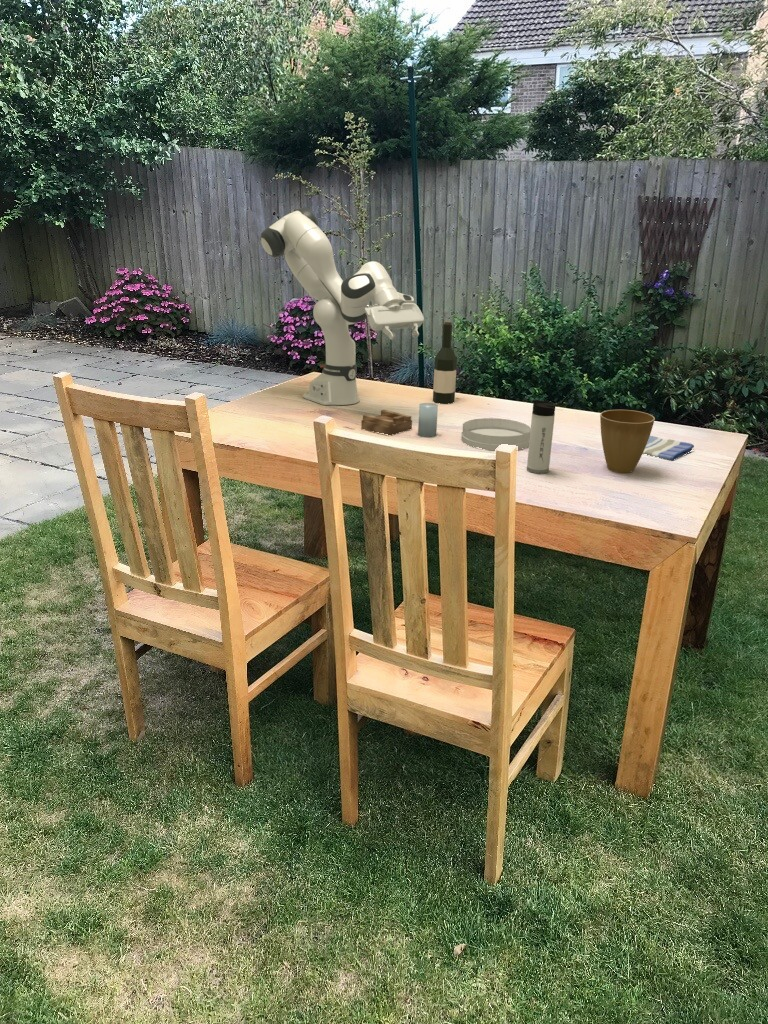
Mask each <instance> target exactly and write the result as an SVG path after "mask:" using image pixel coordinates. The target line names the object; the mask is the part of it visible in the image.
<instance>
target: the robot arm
mask: <svg viewBox="0 0 768 1024" xmlns="http://www.w3.org/2000/svg"><path fill="white" fill-rule="evenodd" d="M260 242H261V243H260V244H261V246H262V249H263V250H264V251H265V252H266V253H267V255H269V256H270V257H272V258H279V257H280V258H281V257H282V256H284V259H285V262H286V264H287V266H288V268H289V270H290V271H291V273H292V274H293V276H294V277H295V278H296V280H297V281H298V282H299V284H300V286H302V288H303V289H304V291H306V293H307V294H308V295H309V296H310V297H311V298H313V299H315V300H317V302H316V303H315V304H314V306H313V310H312V314H313V319H314V321H315V323H316V324H317V325H319V327H320V329H321V331H322V334H323V338H324V343H325V363H324V364H323V363H322V364H320V369H322V373H320V374H319V375H317V376H316V377H315V378H314V379H312V380H311V381H310V383H309V387H308V388H309V389H308V392H306V393H304V394H302V398H303V399H305V400H309V401H312V402H314V403H317V404H321V405H323V406H330V405H331V406H332V405H333V406H336V405H337V406H343V405H344V406H345V405H347V406H348V405H353V404H357V403H359V402H360V398H359V393H358V384H357V378H356V376H357V371H358V370H357V369H358V367H357V366H358V365H357V363H356V357H357V356H356V349H357V348H356V342H355V340H354V339H353V338H352V336H351V335H350V330H349V329H350V328H349V326H350V325H355V324H357V323H361V322H363V321H365V320H366V319H367V321H368V324H369V327H370V329H371V330H373V331H374V332H376V331H377V332H378V331H382V333H383V334H385V335H386V336H388V339H389V340H395V339H396V338H397V335H396V333H395V332H393V331H391V330H400V329H409V328H410V329H411V330H412V332H411V336H412V338H418V337H419V335H420V333H419V331H418V329H419V328H420V327H421V326H422V324H423V323H424V322H425V317H424V314H423V313H422V310H421V309H420V307H419V306H418V305H417V304H416V303H415V299H414V296H412V295H409V294H404V293H401V292H398V290H397V288H395V287H394V285H393V281H392V279H391V276H390V275H389V273H388V272H387V270H386V268H385V267H384V266H383V264H381V263H380V262H378V261H368V262H366V263H364V264H362V265H361V267H360V268H359V270H358V271H357V272H356V273H354V274H353V275H349V276H347V277H346V278H345V279H343V278H342V277H341V276H340V274H339V272H338V270H337V267H336V263H335V258H334V257H335V256H334V251H333V247H332V244H331V242H330V239H329V238H328V237H327V235H326V234H325V232H323V230H322V229H321V227H319V222H318V220H317V217H316V215H315V214H314V212H313V211H312V210H311V209H310V208H309V207H308V208H307V207H301V208H300V207H299V208H297V209H295V211H292V212H290V213H288V214H286V215H284V216H282V217H281V218H280V219H278V220H277V221H275V222H274V223H273V224H271V225H270V226H269V227H266V228H265V229H263V231H262V232H261V233H260ZM370 302H372V303H373V304H370Z"/></svg>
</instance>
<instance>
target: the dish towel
mask: <svg viewBox="0 0 768 1024" xmlns="http://www.w3.org/2000/svg"><path fill="white" fill-rule="evenodd" d="M694 447H695V445H694V444H693V443H691V442H686V441H680V440H674V439H671V438H669V439H667V438H665V439H664V438H660V437H658V436H655V435H654V436H653V435H650V436H649V439H648V442H647V445H646V447H645V449H644V452H643V454H642V455H644V454H647V455H646V456H648V455H650V456H649V457H653V456H655V457H654V458H657V457H659V458H658V459H662V458H663V460H666V459H667V461H675V460H677V459H679V458H681V457H680V456H682V457H684V456H685V455H684V454H686V453H688V452H690V451H691V450H692V449H694ZM690 453H691V452H690ZM688 454H689V453H688ZM683 455H684V456H683ZM686 455H687V454H686ZM678 457H679V458H678ZM676 458H677V459H676ZM674 459H675V460H674Z"/></svg>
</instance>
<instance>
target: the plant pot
mask: <svg viewBox="0 0 768 1024" xmlns="http://www.w3.org/2000/svg"><path fill="white" fill-rule="evenodd" d="M599 416H600V417H599V418H600V423H599V424H600V436H601V444H602V449H603V451H602V452H603V455H604V459H605V464H606V467H607V469H608V470H609V471H611V472H614V473H619V474H628V473H629V474H630V473H633V472H634V471H635V469H636V467H637V465H638V464H639V461H640V460H641V458H642V456H643V455H644V454H643V452H644V449H645V447H646V445H647V442H648V439H649V436H651V433H652V429H653V427H654V424H655V420H656V418H655V416H653V415H652V414H650V413H647V412H643V411H639V410H632V409H631V410H630V409H610V410H604V411H602V412H600V414H599Z"/></svg>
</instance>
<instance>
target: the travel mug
mask: <svg viewBox="0 0 768 1024" xmlns="http://www.w3.org/2000/svg"><path fill="white" fill-rule="evenodd" d="M531 403H532V404H533V405H532V413H531V420H530V421H531V422H530V428H531V430H530V440H529V446H528V452H527V462H526V463H527V465H526V470H527V471H528V472H529V473H533V474H539V475H540V474H546V473H548V472H549V471H550V465H551V464H550V463H551V456H552V455H551V454H552V444H553V434H554V427H555V426H554V424H555V417H556V404H554V403H552V402H550V401H547V400H538V399H534V400H532V402H531Z"/></svg>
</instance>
